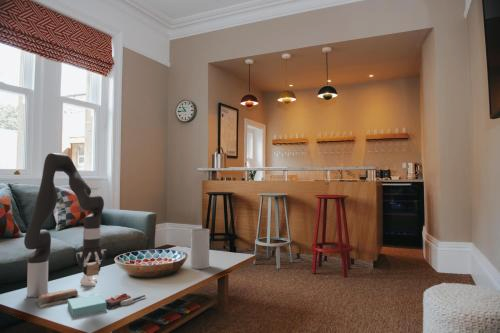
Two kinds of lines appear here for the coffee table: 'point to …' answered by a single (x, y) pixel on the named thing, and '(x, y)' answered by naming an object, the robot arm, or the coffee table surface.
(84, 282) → the sitting furry creature
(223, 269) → the coffee table surface
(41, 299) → the packaged product
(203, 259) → the cylinder vase
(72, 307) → the teal base block
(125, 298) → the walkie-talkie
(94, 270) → the walnut block
